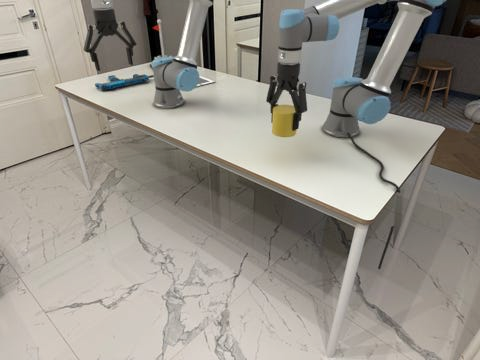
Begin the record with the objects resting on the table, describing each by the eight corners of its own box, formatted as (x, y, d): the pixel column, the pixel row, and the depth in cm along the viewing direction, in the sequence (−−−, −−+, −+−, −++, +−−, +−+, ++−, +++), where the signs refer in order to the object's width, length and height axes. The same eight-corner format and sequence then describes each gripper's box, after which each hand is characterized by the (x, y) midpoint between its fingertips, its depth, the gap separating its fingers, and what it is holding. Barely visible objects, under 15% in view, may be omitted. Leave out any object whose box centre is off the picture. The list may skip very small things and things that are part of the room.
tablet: (160, 77, 218) (160, 76, 218) (186, 71, 229) (186, 70, 229) (187, 89, 198) (187, 88, 198) (215, 82, 209) (215, 81, 209)
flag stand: (171, 62, 250) (166, 17, 233) (175, 66, 239) (170, 20, 223) (153, 63, 246) (147, 18, 229) (157, 68, 235) (150, 21, 219)
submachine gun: (139, 68, 225) (158, 74, 208) (140, 74, 226) (158, 80, 210) (87, 78, 206) (103, 86, 189) (89, 84, 208) (104, 92, 191)
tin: (297, 128, 128) (300, 105, 123) (294, 138, 121) (296, 115, 116) (274, 125, 130) (275, 103, 125) (269, 135, 123) (270, 112, 118)
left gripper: (71, 12, 116) (86, 74, 128) (139, 7, 129) (147, 63, 141) (64, 10, 121) (80, 70, 133) (131, 5, 134) (139, 60, 146)
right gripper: (256, 58, 116) (255, 120, 128) (309, 70, 103) (303, 137, 115) (271, 54, 120) (268, 114, 132) (323, 65, 107) (315, 131, 120)
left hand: (115, 67), depth 137 cm, fingers open, 13 cm apart
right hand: (284, 125), depth 124 cm, fingers closed on tin, 9 cm apart
